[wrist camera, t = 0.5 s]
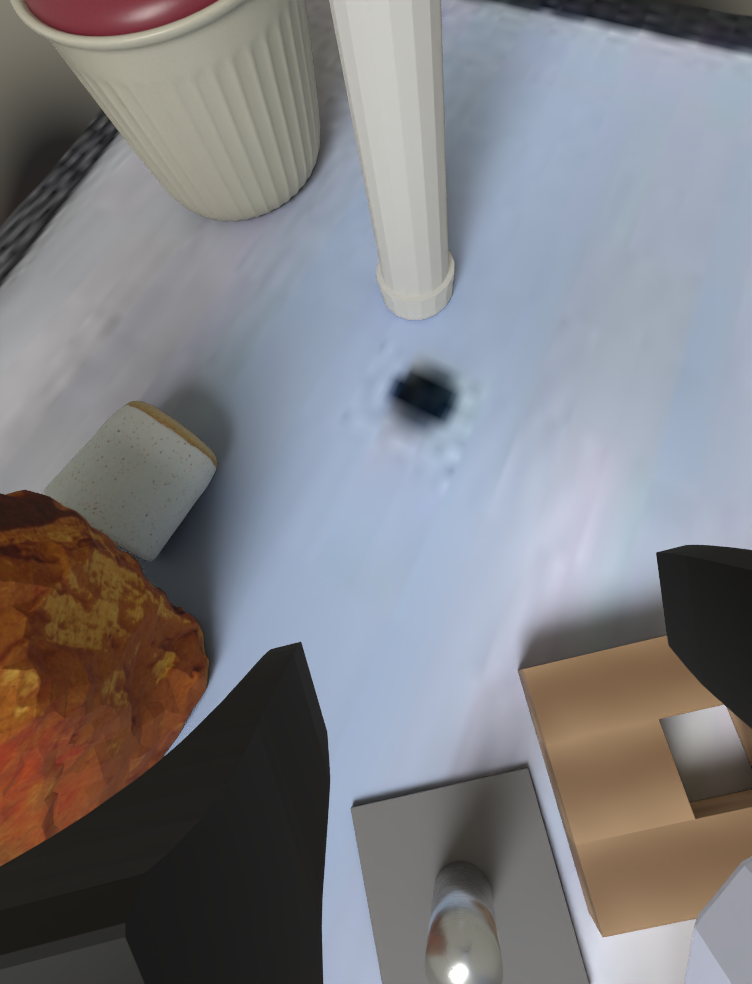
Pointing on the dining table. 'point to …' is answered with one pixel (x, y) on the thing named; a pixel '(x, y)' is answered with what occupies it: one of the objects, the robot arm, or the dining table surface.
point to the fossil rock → (81, 670)
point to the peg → (463, 929)
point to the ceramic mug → (136, 478)
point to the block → (634, 785)
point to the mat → (483, 842)
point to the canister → (199, 91)
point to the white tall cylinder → (400, 143)
